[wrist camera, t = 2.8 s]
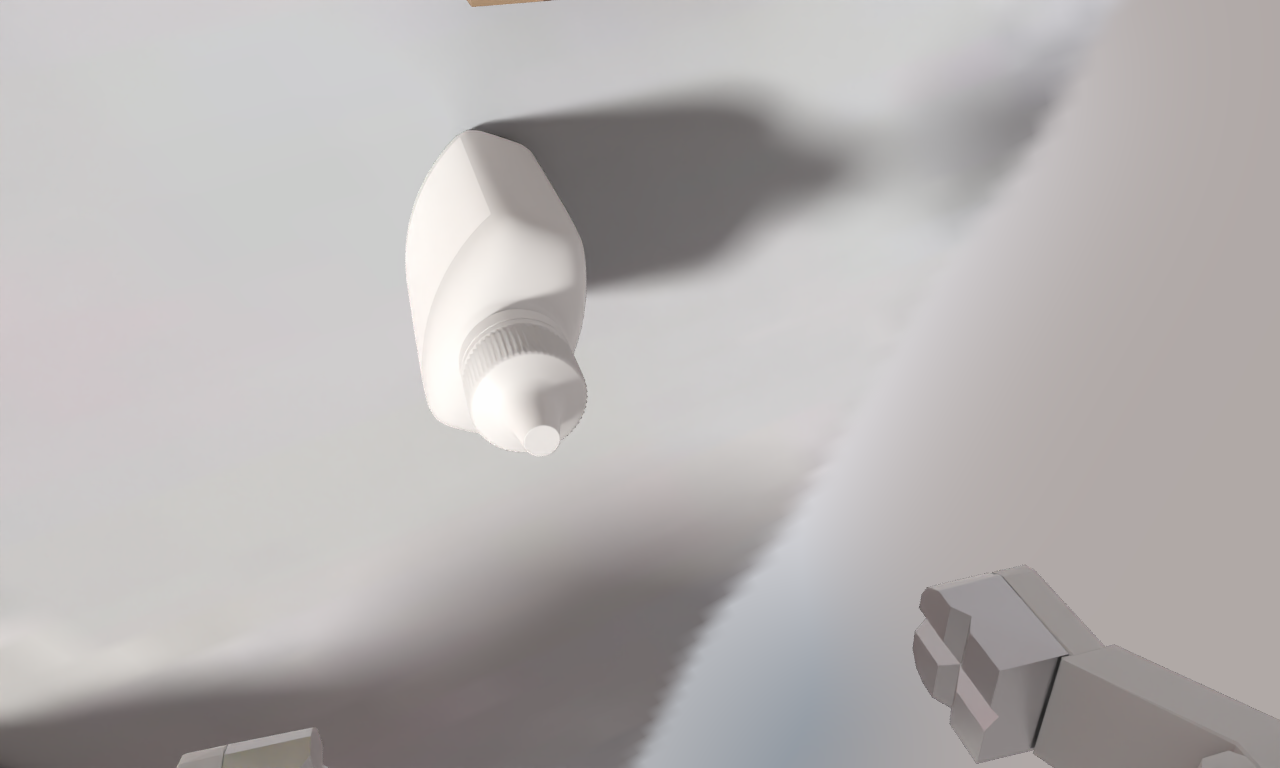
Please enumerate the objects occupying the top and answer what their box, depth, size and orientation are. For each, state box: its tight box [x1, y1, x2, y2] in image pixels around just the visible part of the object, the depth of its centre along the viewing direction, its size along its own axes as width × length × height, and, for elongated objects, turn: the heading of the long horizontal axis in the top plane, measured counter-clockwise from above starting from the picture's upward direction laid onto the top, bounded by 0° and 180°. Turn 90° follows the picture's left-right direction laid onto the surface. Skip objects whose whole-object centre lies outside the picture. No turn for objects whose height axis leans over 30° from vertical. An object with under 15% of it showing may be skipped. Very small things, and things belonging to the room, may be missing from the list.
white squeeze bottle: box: [405, 130, 588, 456], centre depth 23 cm, size 4×6×12 cm
